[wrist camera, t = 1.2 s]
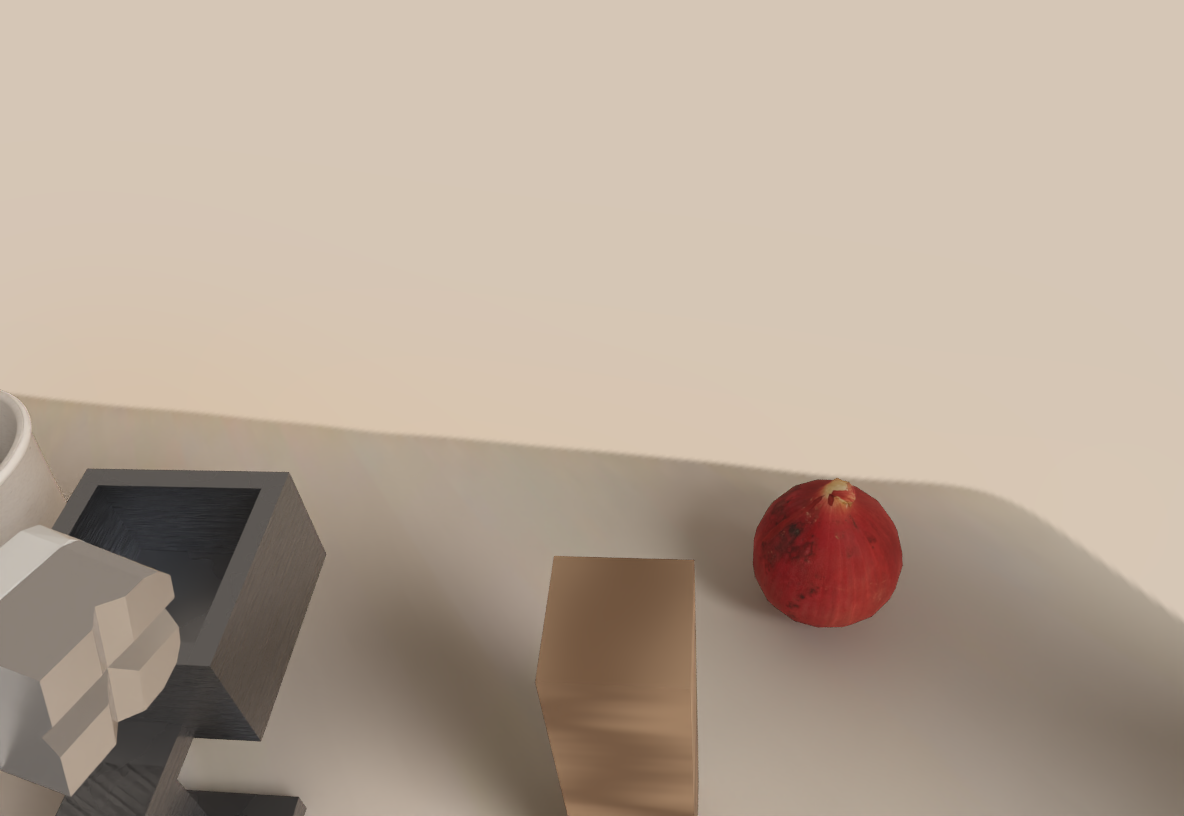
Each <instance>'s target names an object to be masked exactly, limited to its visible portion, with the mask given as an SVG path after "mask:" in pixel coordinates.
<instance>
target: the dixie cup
mask: <svg viewBox="0 0 1184 816" xmlns="http://www.w3.org/2000/svg"><path fill="white" fill-rule="evenodd" d="M65 505H66V501H65V499H64V497H63V495H62V493H61V491H60V489H59V487H58V485H57V483H56V481H55V479H54V476H53V474H52V472H51V470H50V468H49V466H48V464H47V462H46V460H45V458H44V456H43V454H42V452H41V450H40V448H39V445H38V443H37V441H36V439H35V437H34V435H33V433H32V424H31V418H30V414H29V412H28V410H27V408H26V407H25V405H24V404H23V403H22V402H21V401H20V400H19V399H18V398H16V397H15V396H14V395H12V394H10V393H8V392H5V391H3V390H0V547H1V546H2V545H4V544H5V543H6V542H7V541H9V540H10V539H11V538H12V537H14V536H15V535H16V534H17V533H19V532H20V531H22V530H25V529H28V528H31V527H34V526H37V525H42V526H44V527H47V528H50V529H51V528H52V527H53V525H54V523H55V522H56V520H57V518H58V517H59V515H60V513H61V512H62V510H63V508H64V507H65Z"/></svg>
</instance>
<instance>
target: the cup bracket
mask: <svg viewBox="0 0 1184 816" xmlns="http://www.w3.org/2000/svg"><path fill="white" fill-rule="evenodd" d="M51 529H52V530H55V531H58V532H61V533H63V534H66V535H69V536H71V537H74V538H77V539H80V540H82V541H84V542H86V543H89V544H91V545H94V546H97V547H99V548H102V549H104V550H107V551H109V552H112V553H115V554H117V555H120V556H122V557H125V558H127V559H130V560H133V561H135V562H138V563H140V564H143V565H146V566H148V567H151V568H153V569H156V570H158V571H161V572H164V573H166V574H169V575H171V581H172V586H173V591H174V596H175V598H174V599H173V600H172V601H171V602H170V603H169V604H168V605H167V606H166V607H165V609H166V610H167V612H168V613H169V614H170V616H171V617H172V618H173V620H174V621H175V622H176V624H177V625H178V626H179V634H180V648H179V653H178V659H177V663H176V665H175V667H174V669H173V671H172V673H171V675H170V677H169V679H168V681H167V683H166V685H165V687H164V689H163V690H162V691H161V692H160V693H159V695H158V696H157V697H156V698H155V699H154V701H153V702H152V703H151V704H150V706H149V707H148V708H147V709H146V710H145V711H143V712H140V713H138V714H136V715H133V716H131V717H129V718H126V719H124V720H122V721H119V722H118V729H117V743H116V745H115V746H114V748H113V749H112V750H111V751H110V752H109V753H108V754H107V756H106V757H105V758H104V759H103V760H102V761H101V763H100V764H99V765H98V766H97V767H96V768H95V769H94V771H93V772H92V773H91V774H90V775H89V776H88V778H87V779H86V780H85V781H84V782H83V783H82V784H81V786H80V787H79V788H78V789H77V790H76V791H75V793H74V794H73V795H72V796H71V797H70V796H67V795H65V797H64V799H63V801H62V803H61V805H60V807H59V810H58V812H57V814H56V816H304V815H305V811H306V807H305V805H304V804H303V802H302V801H301V799H300V798H299V797H291V796H275V795H258V794H242V793H225V792H209V791H192V790H185V789H184V787H183V786H182V785H181V784H180V783H179V782H178V780H177V777H178V774H179V772H180V769H181V767H182V764H183V762H184V759H185V757H186V754H187V752H188V749H189V747H190V744H191V742H192V739H193V738H208V739H227V740H246V741H261V740H262V737H263V734H264V731H265V729H266V726H267V723H268V720H269V717H270V714H271V711H272V708H273V706H274V703H275V700H276V697H277V694H278V691H279V688H280V685H281V683H282V680H283V677H284V674H285V671H286V668H287V665H288V662H289V660H290V657H291V654H292V651H293V648H294V645H295V642H296V639H297V637H298V634H299V631H300V628H301V625H302V622H303V619H304V617H305V614H306V611H307V608H308V605H309V602H310V599H311V596H312V594H313V591H314V588H315V585H316V582H317V579H318V576H319V573H320V571H321V568H322V565H323V562H324V559H325V556H326V552H325V550H324V548H323V546H322V544H321V541H320V539H319V537H318V535H317V533H316V530H315V528H314V526H313V524H312V521H311V519H310V517H309V515H308V513H307V510H306V508H305V506H304V504H303V502H302V499H301V497H300V495H299V493H298V491H297V488H296V486H295V484H294V482H293V480H292V477H291V475H290V473H289V472H247V471H190V470H133V469H87V470H86V472H85V474H84V475H83V477H82V479H81V480H80V482H79V484H78V485H77V487H76V489H75V490H74V492H73V493H72V495H71V497H70V498H69V500H68V502H67V503H66V505H65V507H64V508H63V510H62V512H61V513H60V515H59V517H58V518H57V520H56V522H55V523H54V525H53V527H52V528H51Z"/></svg>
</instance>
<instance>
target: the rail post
mask: <svg viewBox="0 0 1184 816" xmlns="http://www.w3.org/2000/svg"><path fill="white" fill-rule="evenodd" d="M535 683H536V687H537V692H538V696H539V700H540V704H541V708H542V712H543V716H544V720H545V724H546V729H547V733H548V737H549V741H550V745H551V749H552V753H553V757H554V761H555V766H556V770H557V774H558V778H559V782H560V786H561V790H562V794H563V799H564V803H565V807H566V811H567V815H568V816H698V731H697V678H696V626H695V573H694V560H677V559H641V558H604V557H568V556H554V560H553V566H552V573H551V580H550V586H549V593H548V600H547V606H546V613H545V620H544V626H543V633H542V640H541V646H540V653H539V660H538V666H537V673H536V680H535Z"/></svg>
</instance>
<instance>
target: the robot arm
mask: <svg viewBox="0 0 1184 816" xmlns="http://www.w3.org/2000/svg"><path fill="white" fill-rule="evenodd" d="M174 598H175V596H174V591H173V586H172V581H171V575H169V574H166V573H164V572H161V571H158V570H156V569H153V568H151V567H148V566H146V565H143V564H140V563H138V562H135V561H133V560H130V559H127V558H125V557H122V556H120V555H117V554H115V553H112V552H109V551H107V550H104V549H102V548H99V547H97V546H94V545H91V544H89V543H86V542H84V541H82V540H80V539H77V538H74V537H71V536H69V535H66V534H63V533H61V532H58V531H55V530H52V529H50V528H47V527H44V526H42V525H37V526H34V527H31V528H28V529H25V530H22V531H20V532H19V533H17V534H16V535H15V536H14V537H12V538H11V539H10V540H9V541H7V542H6V543H5V544H4V545H2V546H1V547H0V770H1V771H4V772H6V773H9V774H12V775H14V776H17V777H20V778H22V779H25V780H27V781H30V782H33V783H35V784H38V785H41V786H43V787H46V788H49V789H51V790H54V791H56V792H59V793H62V794H64V795H67V796H70V797H71V796H72V795H73V794H74V793H75V791H76V790H77V789H78V788H79V787H80V786H81V784H82V783H83V782H84V781H85V780H86V779H87V778H88V776H89V775H90V774H91V773H92V772H93V771H94V769H95V768H96V767H97V766H98V765H99V764H100V763H101V761H102V760H103V759H104V758H105V757H106V756H107V754H108V753H109V752H110V751H111V750H112V749H113V748H114V746H115V745H116V743H117V729H118V722H119V721H122V720H124V719H126V718H129V717H131V716H133V715H136V714H138V713H140V712H143V711H145V710H146V709H147V708H148V707H149V706H150V704H151V703H152V702H153V701H154V699H155V698H156V697H157V696H158V695H159V693H160V692H161V691H162V690H163V689H164V687H165V685H166V683H167V681H168V679H169V677H170V675H171V673H172V671H173V669H174V667H175V665H176V663H177V659H178V653H179V648H180V634H179V626H178V625H177V624H176V622H175V621H174V620H173V618H172V617H171V616H170V614H169V613H168V612H167V610H166V609H165V607H166V606H167V605H168V604H169V603H170V602H171V601H172V600H173V599H174Z"/></svg>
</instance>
